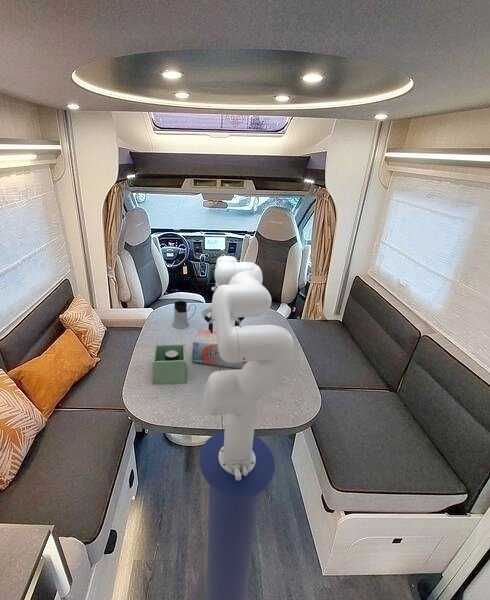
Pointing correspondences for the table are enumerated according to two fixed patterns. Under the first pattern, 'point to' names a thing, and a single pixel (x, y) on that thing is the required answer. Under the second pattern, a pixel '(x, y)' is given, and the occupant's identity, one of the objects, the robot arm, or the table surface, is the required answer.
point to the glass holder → (181, 314)
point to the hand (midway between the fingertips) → (223, 331)
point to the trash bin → (169, 365)
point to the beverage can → (171, 355)
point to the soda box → (210, 350)
